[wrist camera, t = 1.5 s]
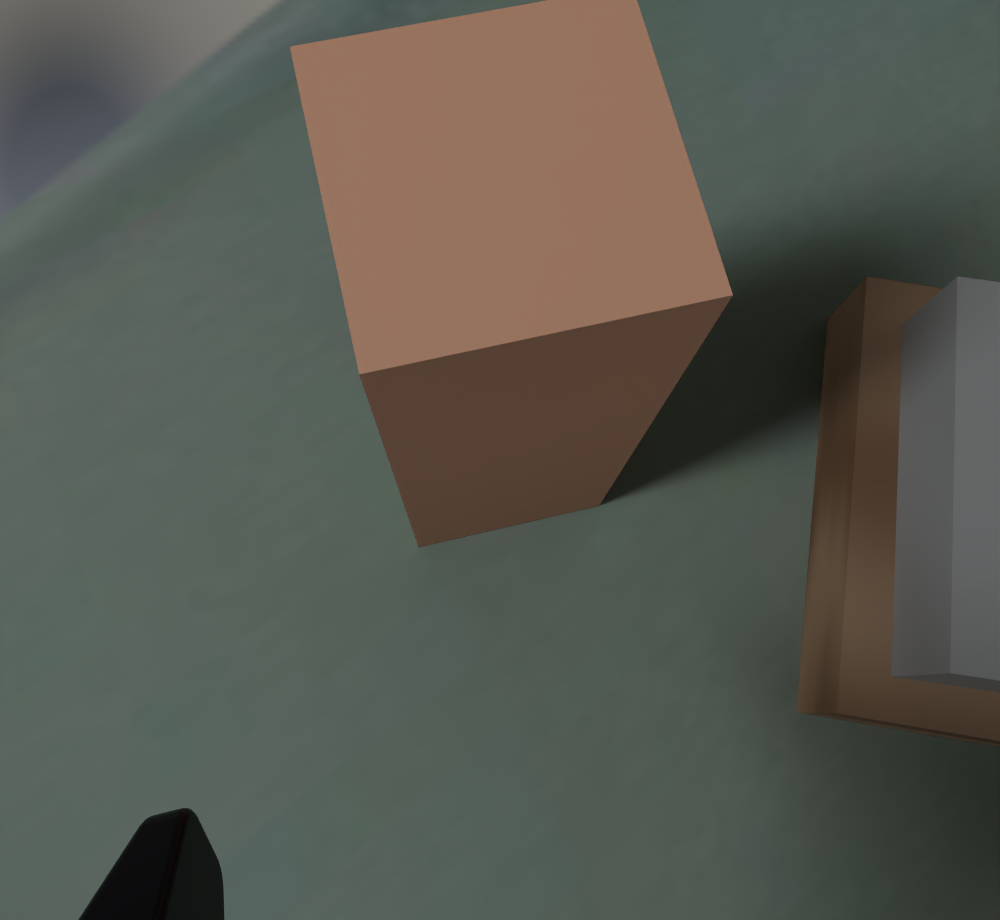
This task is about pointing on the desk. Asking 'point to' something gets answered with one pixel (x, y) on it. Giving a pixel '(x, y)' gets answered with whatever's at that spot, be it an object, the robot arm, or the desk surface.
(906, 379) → the tower top
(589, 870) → the desk surface
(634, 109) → the pillar
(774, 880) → the desk surface
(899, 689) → the tower base
